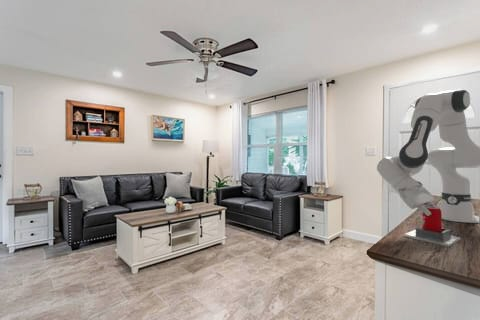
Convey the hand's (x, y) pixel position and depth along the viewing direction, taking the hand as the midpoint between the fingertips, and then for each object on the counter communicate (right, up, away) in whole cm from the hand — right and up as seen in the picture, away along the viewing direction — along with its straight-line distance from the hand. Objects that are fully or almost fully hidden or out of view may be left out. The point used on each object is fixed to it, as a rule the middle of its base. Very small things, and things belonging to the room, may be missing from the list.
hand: (433, 213), depth 101 cm
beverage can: (0, -9, +1) cm, 10 cm away
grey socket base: (0, -10, +1) cm, 10 cm away
